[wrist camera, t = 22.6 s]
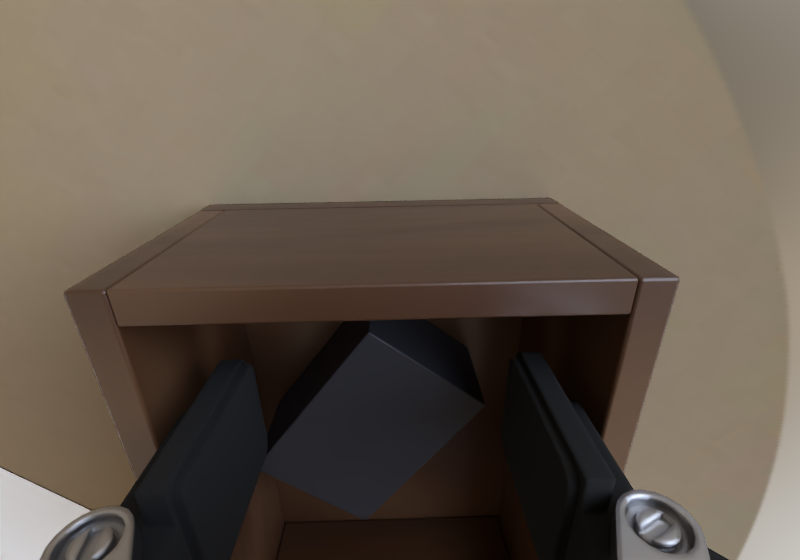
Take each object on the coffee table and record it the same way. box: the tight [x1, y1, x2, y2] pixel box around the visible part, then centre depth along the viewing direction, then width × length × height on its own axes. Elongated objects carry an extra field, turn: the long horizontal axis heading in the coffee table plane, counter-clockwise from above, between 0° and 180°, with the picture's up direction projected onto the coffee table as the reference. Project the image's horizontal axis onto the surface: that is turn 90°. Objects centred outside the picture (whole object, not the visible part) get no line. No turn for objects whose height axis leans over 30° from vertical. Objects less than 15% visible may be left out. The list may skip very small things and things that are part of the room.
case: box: [64, 198, 679, 560], centre depth 14 cm, size 16×12×7 cm
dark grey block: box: [261, 319, 486, 520], centre depth 14 cm, size 4×6×3 cm
